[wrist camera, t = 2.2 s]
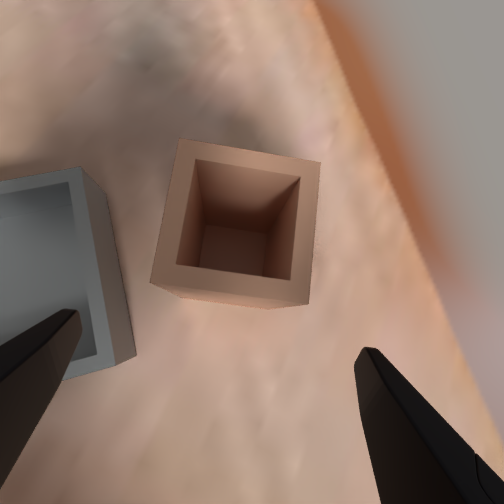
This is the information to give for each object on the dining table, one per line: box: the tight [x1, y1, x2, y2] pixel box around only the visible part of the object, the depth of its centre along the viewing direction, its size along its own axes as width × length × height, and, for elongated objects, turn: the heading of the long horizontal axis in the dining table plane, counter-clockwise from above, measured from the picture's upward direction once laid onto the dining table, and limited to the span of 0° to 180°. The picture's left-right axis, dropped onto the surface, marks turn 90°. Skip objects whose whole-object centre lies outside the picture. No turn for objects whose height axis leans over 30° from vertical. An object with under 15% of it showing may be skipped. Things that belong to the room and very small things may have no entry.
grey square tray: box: [0, 167, 137, 381], centre depth 18 cm, size 12×12×4 cm
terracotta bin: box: [150, 138, 321, 310], centre depth 17 cm, size 6×6×10 cm
